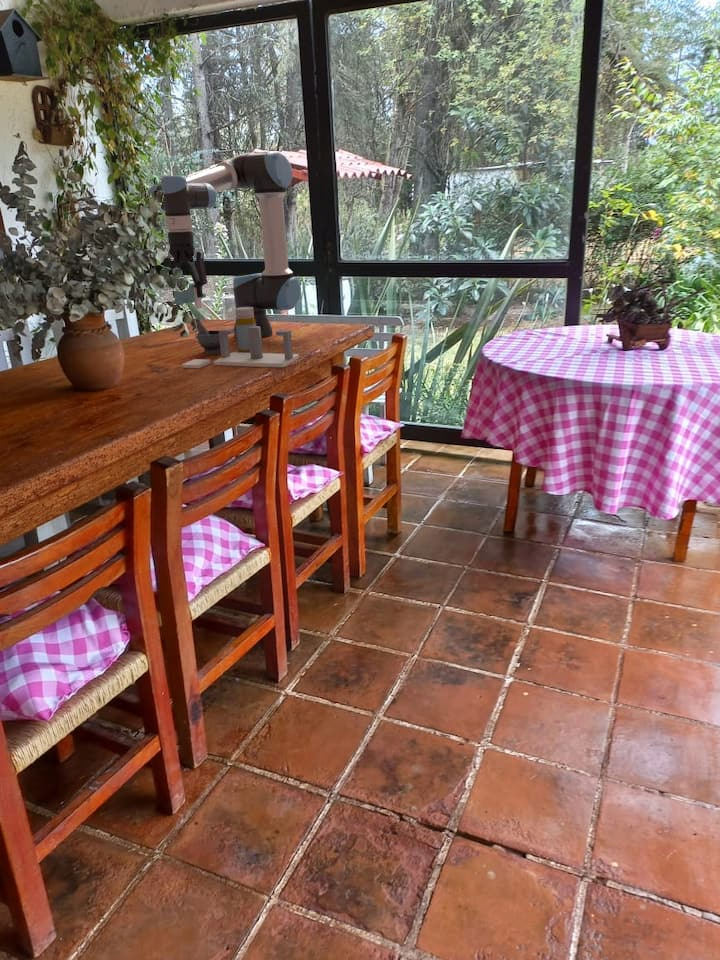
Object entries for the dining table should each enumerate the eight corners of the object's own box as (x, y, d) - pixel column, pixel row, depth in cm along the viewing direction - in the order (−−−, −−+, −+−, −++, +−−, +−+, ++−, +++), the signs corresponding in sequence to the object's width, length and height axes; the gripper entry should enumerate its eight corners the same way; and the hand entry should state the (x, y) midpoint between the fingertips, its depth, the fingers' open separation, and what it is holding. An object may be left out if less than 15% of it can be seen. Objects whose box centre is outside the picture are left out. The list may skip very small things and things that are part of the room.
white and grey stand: (233, 355, 240) (229, 322, 235) (299, 357, 233) (297, 324, 229) (214, 365, 227) (210, 330, 223) (283, 367, 221) (280, 332, 216)
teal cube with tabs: (163, 305, 213) (161, 288, 211) (195, 297, 230) (193, 280, 228) (181, 306, 211) (179, 288, 209) (211, 297, 228) (209, 280, 226)
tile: (194, 362, 232) (194, 359, 232) (210, 362, 231) (210, 359, 230) (182, 367, 225) (182, 364, 225) (198, 368, 224) (198, 365, 223)
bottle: (254, 353, 242) (250, 309, 236) (235, 353, 243) (231, 309, 238) (261, 349, 248) (257, 306, 242) (242, 349, 250) (238, 306, 244)
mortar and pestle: (231, 349, 250) (227, 315, 245) (221, 355, 241) (217, 320, 237) (201, 349, 252) (197, 315, 247) (191, 355, 244) (186, 320, 239)
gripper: (145, 232, 212) (156, 309, 220) (201, 230, 206) (210, 310, 215) (159, 230, 218) (169, 306, 227) (213, 229, 213) (221, 306, 222)
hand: (189, 307), depth 221 cm, fingers closed on teal cube with tabs, 6 cm apart
